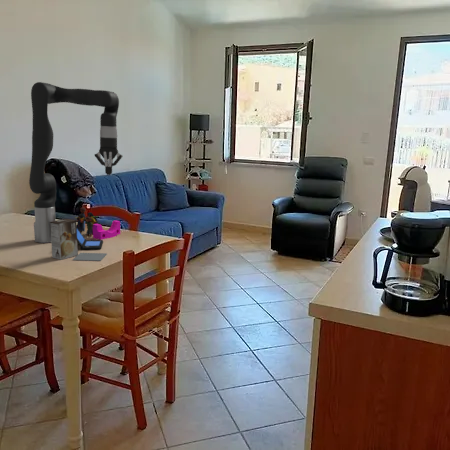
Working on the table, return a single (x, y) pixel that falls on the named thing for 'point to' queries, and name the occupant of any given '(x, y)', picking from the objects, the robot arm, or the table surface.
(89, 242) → the game console
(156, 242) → the table surface
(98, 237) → the toy block
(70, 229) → the coffee box
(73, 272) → the table surface
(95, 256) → the slate mat
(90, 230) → the doll family
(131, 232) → the table surface
